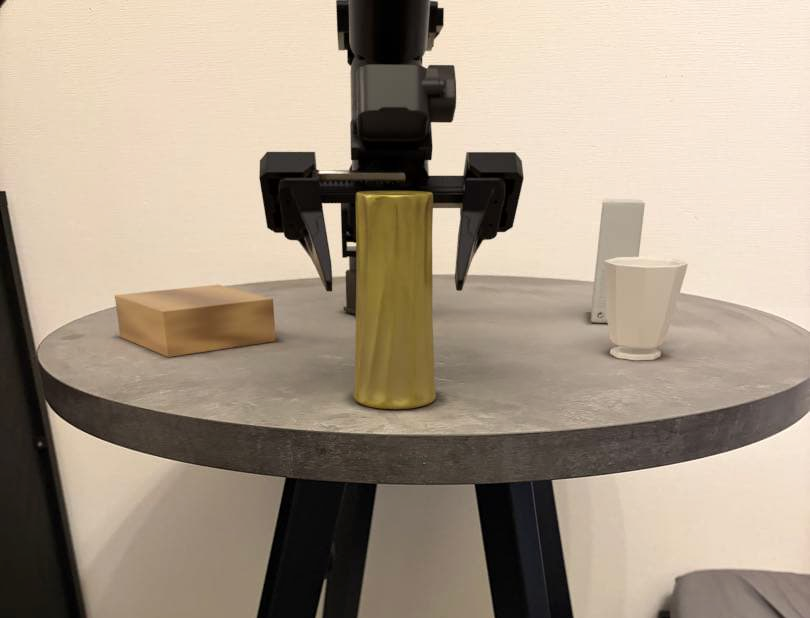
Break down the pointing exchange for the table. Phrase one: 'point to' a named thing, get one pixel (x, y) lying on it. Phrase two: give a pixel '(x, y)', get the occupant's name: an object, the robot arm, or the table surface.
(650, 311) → the cup
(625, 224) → the cosmetic box
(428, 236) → the vase
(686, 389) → the table surface
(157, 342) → the oak block
